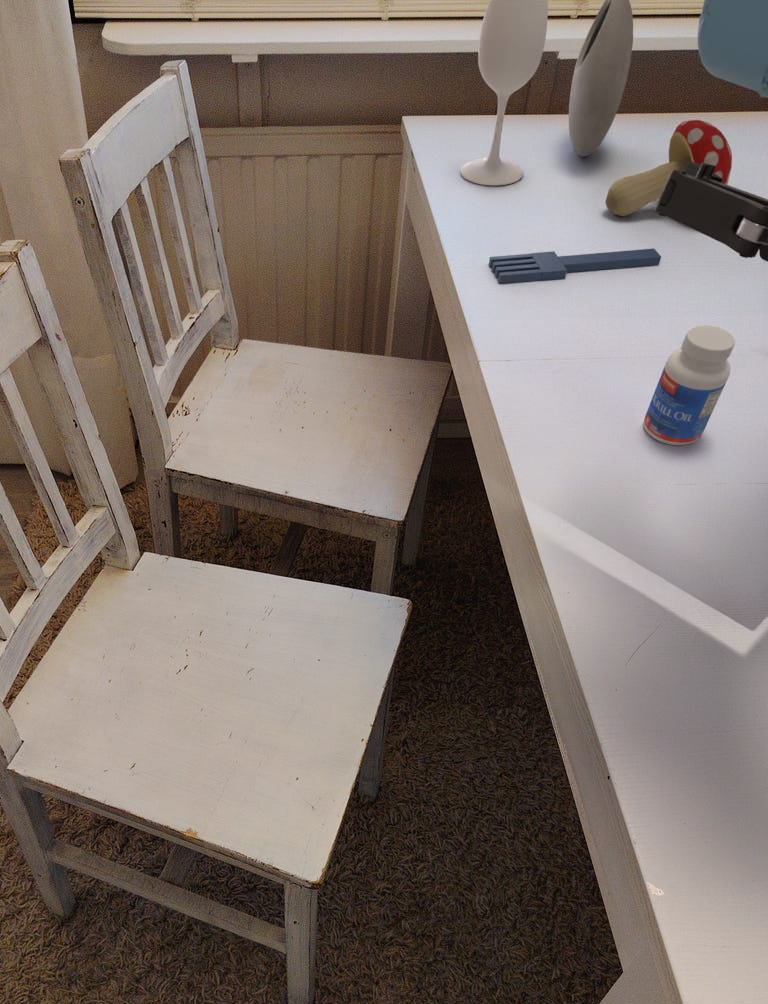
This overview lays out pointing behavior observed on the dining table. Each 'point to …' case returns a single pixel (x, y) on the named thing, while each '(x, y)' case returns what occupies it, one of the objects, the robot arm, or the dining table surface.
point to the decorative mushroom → (673, 166)
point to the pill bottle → (690, 386)
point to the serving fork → (565, 264)
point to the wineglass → (507, 72)
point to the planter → (600, 76)
